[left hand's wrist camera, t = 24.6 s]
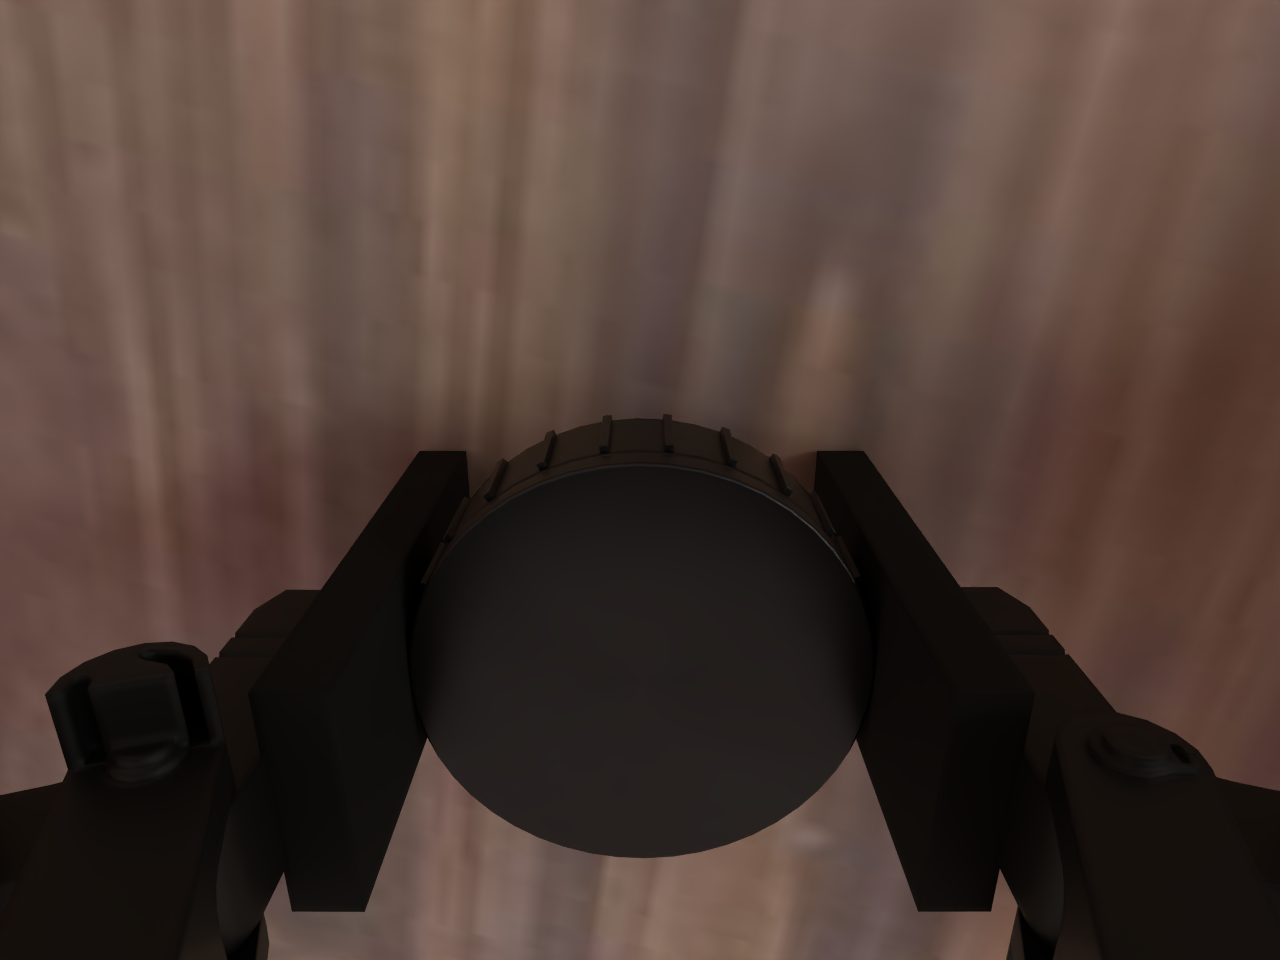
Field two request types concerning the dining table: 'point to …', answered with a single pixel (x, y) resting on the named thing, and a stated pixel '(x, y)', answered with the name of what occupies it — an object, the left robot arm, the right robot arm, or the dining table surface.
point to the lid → (641, 641)
